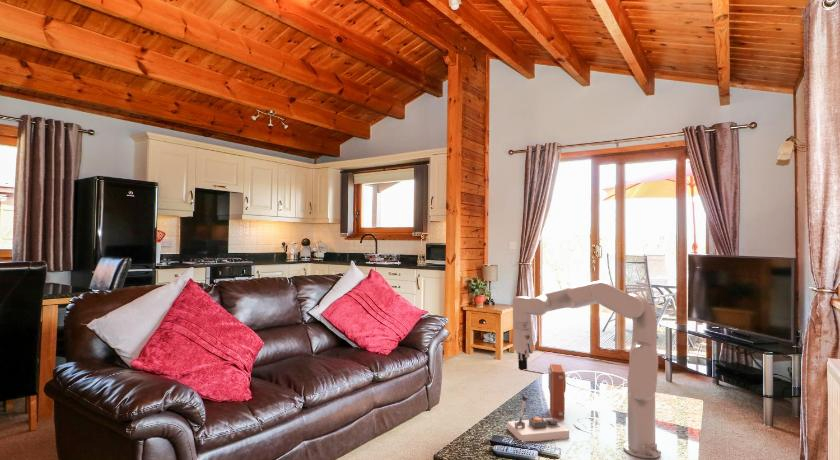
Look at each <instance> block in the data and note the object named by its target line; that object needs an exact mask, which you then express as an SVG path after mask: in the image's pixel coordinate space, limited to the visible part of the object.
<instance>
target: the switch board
mask: <svg viewBox="0 0 840 460" xmlns="http://www.w3.org/2000/svg"><path fill="white" fill-rule="evenodd" d="M538 417H539V418H542V417H540V416H538ZM533 418H534V417H529V418H528V419H524V420H523V419H522V422H523V426H518V423H517V422H519V420H513V421H512V420H511V421H510V420H509V421H507V423H506V424H507V425H506V427H507V430H508V431H509V432H510V433H511V434H512V435H513V436H514V437H515V438H516V439H517V440H518V441H520V440H521V441H531V442H530V443H532V441H533V442H540V441H541V442H542V441H551V440H552V439H553V440H561V439H563V440H564V439H569V438H570V430H569V429H568V428H566V427H565V426H564V425H563V424H562V423H560V422H558V423H553V424H550V423H548V420H547V419H553V418H552V417H545V418H542V422H534V421H533ZM555 420H558V421H559V419H555ZM553 440H552V441H553ZM521 441H520V442H521Z"/></svg>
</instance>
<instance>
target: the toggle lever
mask: <svg viewBox="0 0 840 460" xmlns="http://www.w3.org/2000/svg"><path fill="white" fill-rule="evenodd" d="M521 400H522V402H521V407H520V411H519V412H520V413H519V418H518V421H519V422H517V423H518V426H523V422H522V420H523V417H524V412H525V407H526V401H527V400H528V397H527V396H526V395H523V396H522V398H521Z"/></svg>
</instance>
